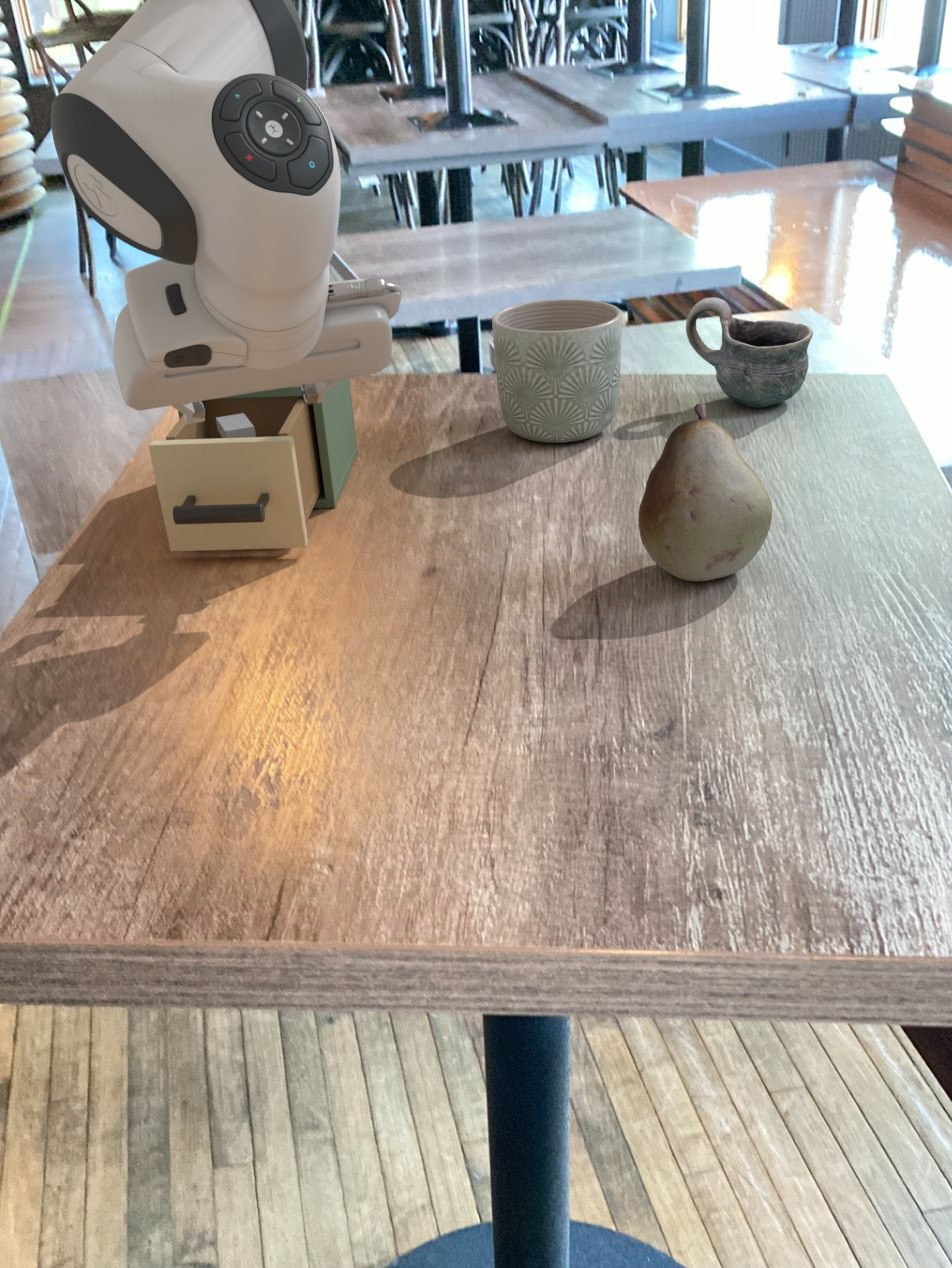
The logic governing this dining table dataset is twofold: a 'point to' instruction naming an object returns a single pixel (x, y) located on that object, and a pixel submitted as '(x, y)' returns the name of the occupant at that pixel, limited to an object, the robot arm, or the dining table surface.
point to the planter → (558, 367)
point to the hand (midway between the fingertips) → (252, 405)
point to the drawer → (240, 477)
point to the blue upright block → (235, 426)
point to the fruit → (703, 505)
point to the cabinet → (327, 436)
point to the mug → (754, 355)
